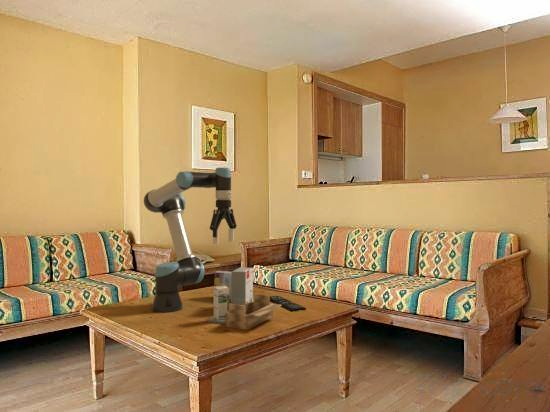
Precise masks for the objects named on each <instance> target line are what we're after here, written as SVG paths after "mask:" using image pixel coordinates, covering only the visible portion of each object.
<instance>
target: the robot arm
mask: <svg viewBox="0 0 550 412" xmlns="http://www.w3.org/2000/svg"><path fill="white" fill-rule="evenodd" d="M191 188H201V189H202V188H203V189H212V188H213V189H214V188H215V199H216V200H215V208H217V209H213V211H212V212H213V213H212V214H213V215H212V218H211V222H210V225H209V230H210V231H212V245H219V243H220V241H219V240H220V239H219V238H220V237H219V236H220V235H219V233H220V232H219V230H218V229H219V227H220V225H221V222H222V220H225V222H226V223H227V227H228V229H227V230H228V233H227V234H228V242H230V243H234V242H235V229H237V222H236V217H235V214H234V209H233V208H232V200H231V199H232V171H231V168H229V167H216V168H215V172H202V171H201V172H200V171H188V170H185V171H179V172H178V173H177V175H176V177H175V178H174V179H173V180H171V181H169V182H167V183H166V184H163V186H160V187H158V188H156V189H151V190H150V191H148V192H146V194H145V195H144V197H143V205H144V207H145V209H147V210H148V211H149V212H152V213H156V214H157V213H161V214H162V217H163V218H164V219H166V223H167V226H168V230H169V233H170V236H171V237H170V238H171V240H172V245H173V247H174V248H173V249H174V252H175V256H176V261H168V262H163V263H160V264H158V265H156V267H155V273H154V277H155V296H154V299H153V301H152V302H153V303H152V305H151V309H152V311H153V312H156V313H157V312H158V313H172V312H176V311H177V312H178V311H179V310H182V309H183V301H182V298H181V296H180V287H183V286H189V285H196V284H198V283H200V282H202V281H203V279H204V276H205V266H204V264H203V262H202V261H199V260H198V258H197V256H196V255H194V254H193V251H192V247H191V244H190V241H189V236H188V233H187V229H186V226H185V222H184V218H183V213H184V212H185V211H184V210H185V209H186V199H185V197H184V195H183V192H186V191H187V190H189V189H191Z"/></svg>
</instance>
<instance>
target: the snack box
mask: <svg viewBox="0 0 550 412" xmlns="http://www.w3.org/2000/svg"><path fill="white" fill-rule="evenodd" d="M231 275H232V271H226V270H225V271H224V270H223V271H222V270H217V271H214V276H213V277H214V282H213V283H214V285H213V287H217V286H227V287H229V301H231Z"/></svg>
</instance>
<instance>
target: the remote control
mask: <svg viewBox="0 0 550 412" xmlns="http://www.w3.org/2000/svg"><path fill="white" fill-rule="evenodd" d="M269 302H272V303H273V304H281V305H282V306H281V307H282V308H284V307H285V308H284V309H286V308H287V309H286V310H288V309H289V310H288V311H290V310H291V311H290V312H292V311H294V312H299V311H298V310H302V311H306V310H307V308H306V307H304V306H302V305H300V304H298V303H295V302H293V301H291V300H289V299H287V298H284V297H282V296H280V295H272V296H270V295H269Z"/></svg>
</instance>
